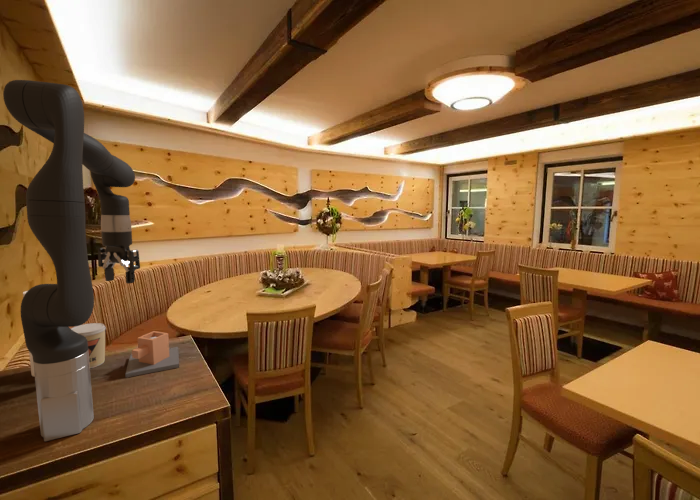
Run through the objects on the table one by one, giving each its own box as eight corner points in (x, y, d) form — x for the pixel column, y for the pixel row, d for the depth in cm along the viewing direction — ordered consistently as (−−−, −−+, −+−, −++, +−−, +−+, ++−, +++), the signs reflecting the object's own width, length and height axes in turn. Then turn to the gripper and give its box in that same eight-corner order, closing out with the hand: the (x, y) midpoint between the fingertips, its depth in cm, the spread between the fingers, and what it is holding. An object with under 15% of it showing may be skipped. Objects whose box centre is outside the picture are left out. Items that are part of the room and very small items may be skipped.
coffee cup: (64, 373, 96) (61, 335, 95) (77, 359, 105) (74, 324, 103) (102, 368, 100) (99, 331, 98) (111, 355, 108) (109, 321, 107)
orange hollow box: (169, 356, 106) (168, 333, 105) (143, 370, 97) (142, 344, 96) (155, 353, 108) (153, 330, 107) (128, 366, 98) (126, 342, 97)
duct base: (179, 367, 101) (178, 342, 100) (125, 377, 95) (123, 351, 94) (178, 350, 113) (177, 327, 112) (130, 358, 107) (129, 334, 106)
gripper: (145, 230, 99) (148, 281, 101) (111, 228, 103) (114, 277, 105) (122, 231, 92) (125, 286, 94) (86, 229, 96) (90, 282, 98)
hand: (120, 281), depth 100 cm, fingers open, 8 cm apart
